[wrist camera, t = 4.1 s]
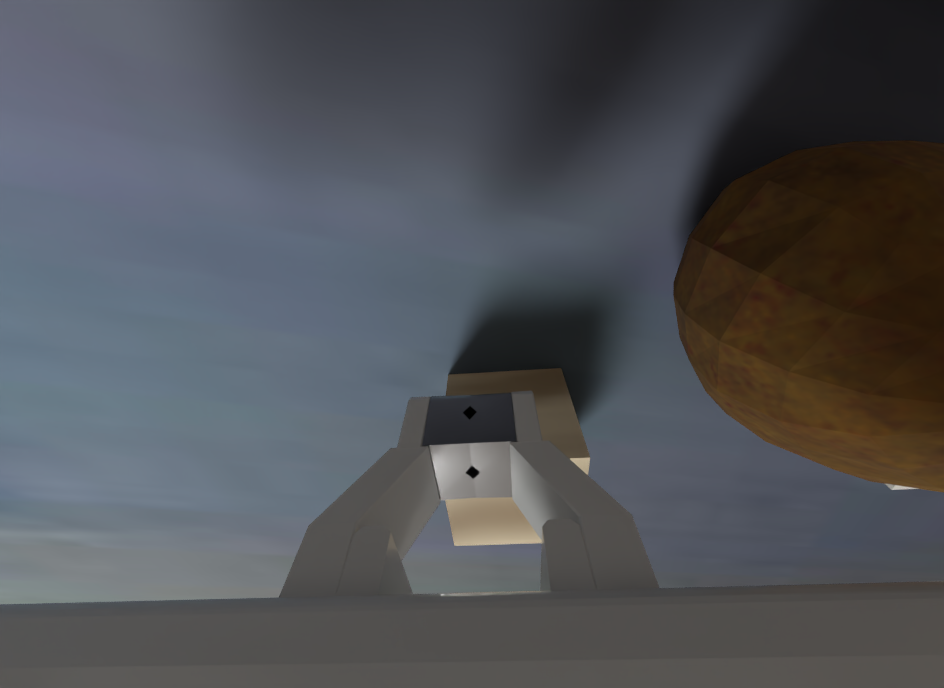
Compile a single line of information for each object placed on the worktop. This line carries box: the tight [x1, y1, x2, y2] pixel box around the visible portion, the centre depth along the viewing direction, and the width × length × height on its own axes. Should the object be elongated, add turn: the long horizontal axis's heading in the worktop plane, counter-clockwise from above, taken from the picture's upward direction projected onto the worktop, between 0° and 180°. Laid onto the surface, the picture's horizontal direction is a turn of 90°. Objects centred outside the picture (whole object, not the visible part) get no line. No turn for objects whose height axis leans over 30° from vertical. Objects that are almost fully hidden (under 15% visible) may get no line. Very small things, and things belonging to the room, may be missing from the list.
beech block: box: [445, 368, 590, 546], centre depth 15 cm, size 5×5×5 cm
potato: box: [674, 140, 944, 492], centre depth 10 cm, size 8×12×9 cm
